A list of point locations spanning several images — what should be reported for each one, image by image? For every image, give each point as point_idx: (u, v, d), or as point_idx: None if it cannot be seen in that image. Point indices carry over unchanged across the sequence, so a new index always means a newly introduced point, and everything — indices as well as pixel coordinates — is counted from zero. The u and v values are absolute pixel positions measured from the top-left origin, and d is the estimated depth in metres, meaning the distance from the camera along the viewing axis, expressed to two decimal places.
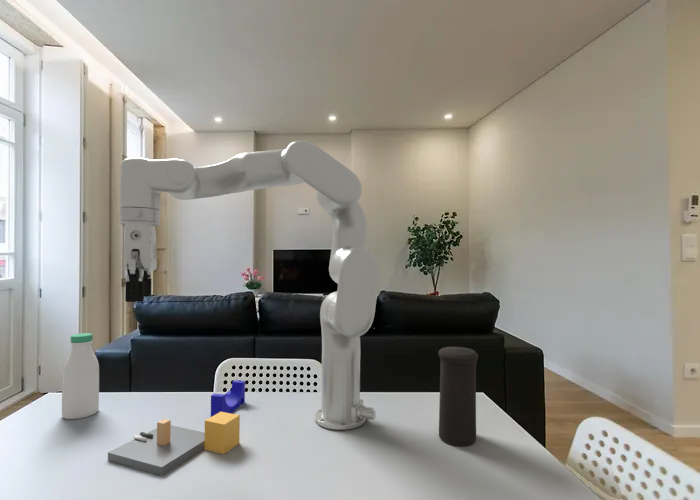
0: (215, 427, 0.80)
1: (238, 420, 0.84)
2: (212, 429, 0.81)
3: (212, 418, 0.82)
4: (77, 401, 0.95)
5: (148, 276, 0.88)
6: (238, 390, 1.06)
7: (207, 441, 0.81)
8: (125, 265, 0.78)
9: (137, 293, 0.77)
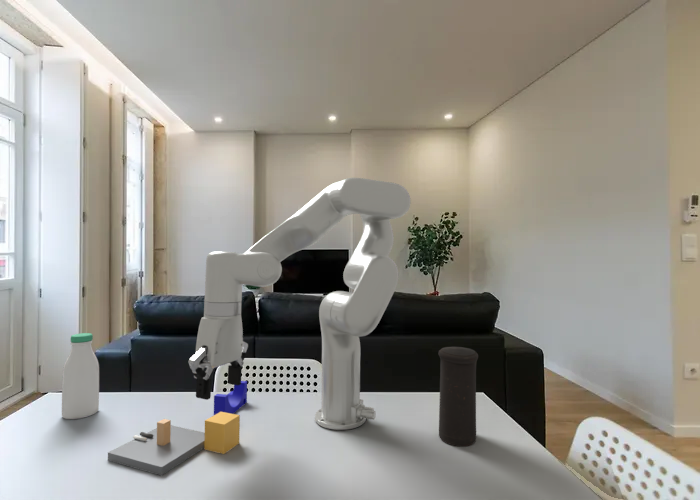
0: (215, 427, 0.80)
1: (238, 420, 0.84)
2: (212, 429, 0.81)
3: (212, 418, 0.82)
4: (77, 401, 0.95)
5: None
6: (240, 390, 1.06)
7: (207, 441, 0.81)
8: None
9: None
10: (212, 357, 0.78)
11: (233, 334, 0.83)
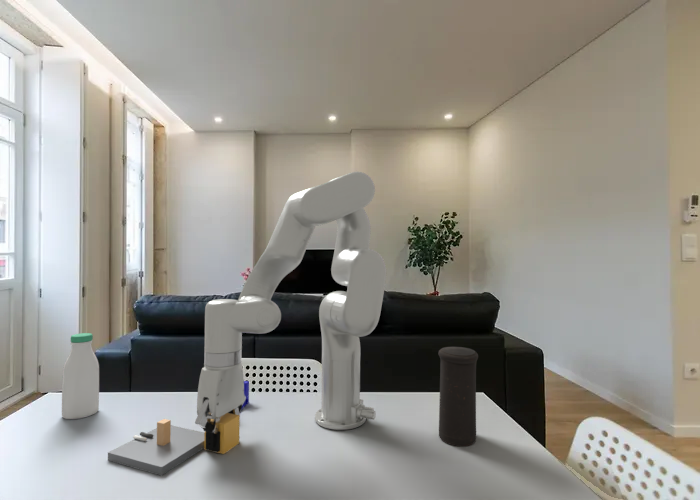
0: None
1: (237, 420, 0.84)
2: None
3: None
4: (77, 401, 0.95)
5: None
6: None
7: None
8: None
9: None
10: (214, 409, 0.78)
11: (234, 382, 0.83)
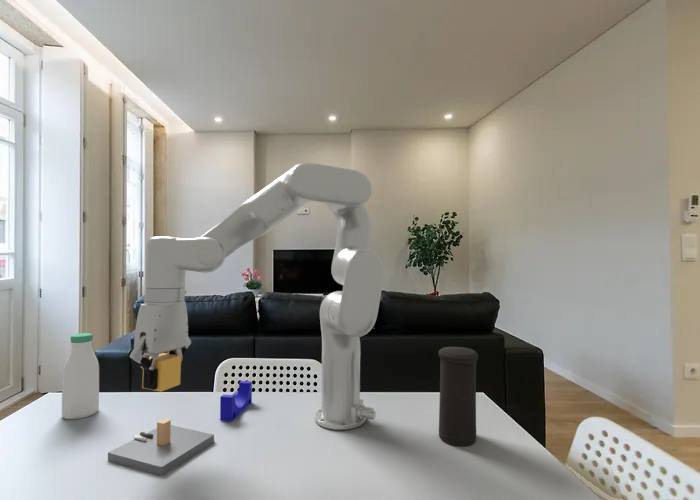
0: None
1: (179, 360, 0.82)
2: None
3: None
4: (77, 401, 0.95)
5: None
6: (245, 391, 1.05)
7: None
8: (187, 340, 0.85)
9: None
10: (150, 344, 0.76)
11: (175, 321, 0.81)
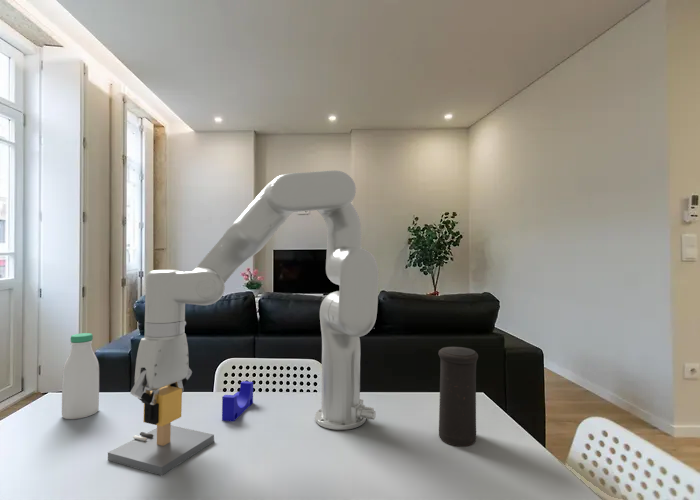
0: None
1: (179, 393, 0.82)
2: None
3: None
4: (77, 401, 0.95)
5: None
6: (247, 391, 1.05)
7: None
8: (187, 372, 0.85)
9: None
10: (151, 380, 0.76)
11: (176, 354, 0.81)
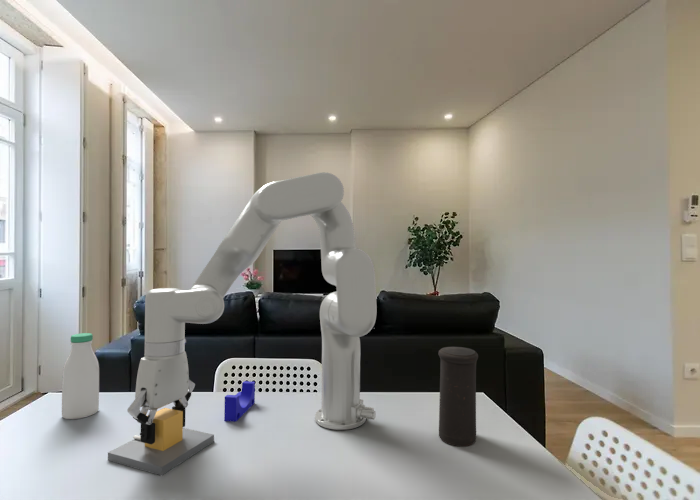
0: (155, 423, 0.78)
1: (180, 416, 0.82)
2: None
3: None
4: (77, 401, 0.95)
5: None
6: (248, 391, 1.05)
7: None
8: (188, 389, 0.85)
9: None
10: (151, 400, 0.76)
11: (176, 373, 0.81)
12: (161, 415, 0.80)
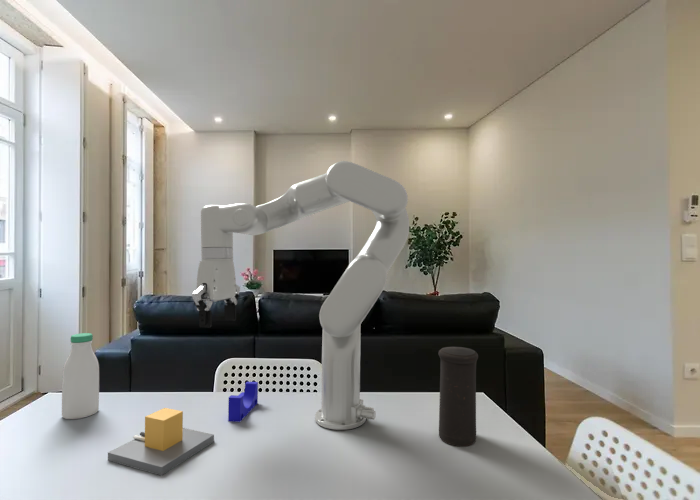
0: (155, 423, 0.78)
1: (180, 416, 0.82)
2: (152, 425, 0.79)
3: (153, 414, 0.80)
4: (77, 401, 0.95)
5: None
6: (252, 391, 1.05)
7: (147, 438, 0.79)
8: None
9: None
10: (211, 292, 0.92)
11: (227, 275, 0.97)
12: (161, 415, 0.80)
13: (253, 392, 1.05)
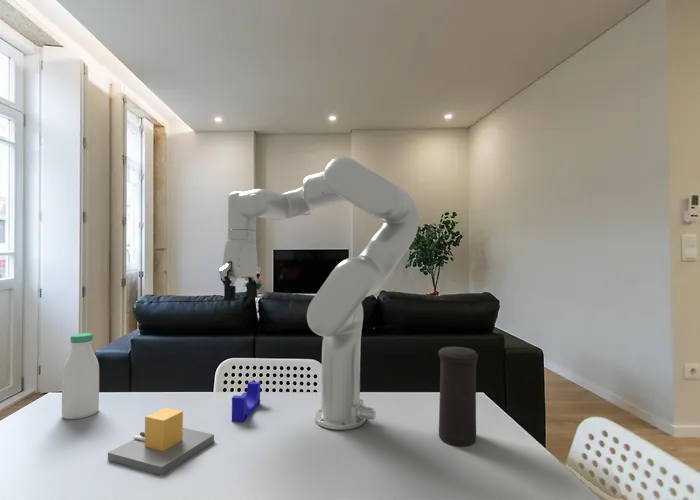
0: (155, 423, 0.78)
1: (180, 416, 0.82)
2: (152, 425, 0.79)
3: (153, 414, 0.80)
4: (77, 401, 0.95)
5: None
6: (254, 391, 1.05)
7: (147, 438, 0.79)
8: None
9: None
10: (236, 270, 1.03)
11: (250, 255, 1.08)
12: (161, 415, 0.80)
13: (256, 392, 1.05)
